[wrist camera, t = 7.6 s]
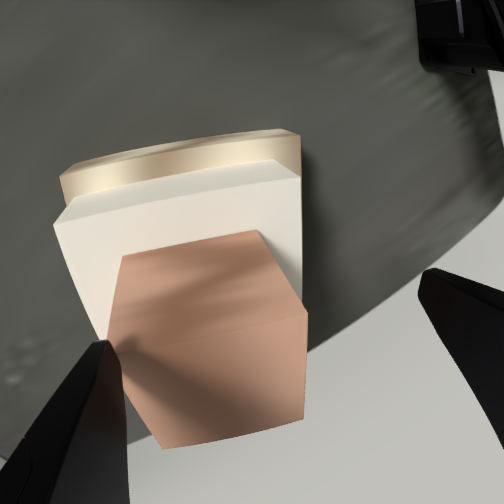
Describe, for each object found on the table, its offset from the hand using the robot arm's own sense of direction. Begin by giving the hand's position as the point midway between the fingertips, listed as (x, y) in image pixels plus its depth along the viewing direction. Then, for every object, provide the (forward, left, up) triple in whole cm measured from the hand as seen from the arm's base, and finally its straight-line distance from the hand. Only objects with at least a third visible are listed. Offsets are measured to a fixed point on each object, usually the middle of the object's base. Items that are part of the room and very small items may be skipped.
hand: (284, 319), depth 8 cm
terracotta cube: (+2, +3, -6) cm, 7 cm away
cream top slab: (+2, +3, -9) cm, 10 cm away
